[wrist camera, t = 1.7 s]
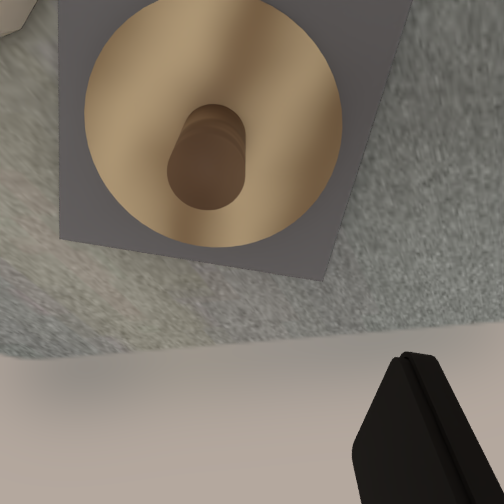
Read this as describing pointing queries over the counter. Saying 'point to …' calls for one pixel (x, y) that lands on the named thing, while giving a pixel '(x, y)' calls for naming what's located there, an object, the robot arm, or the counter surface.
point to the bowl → (14, 14)
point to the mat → (323, 209)
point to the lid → (213, 120)
